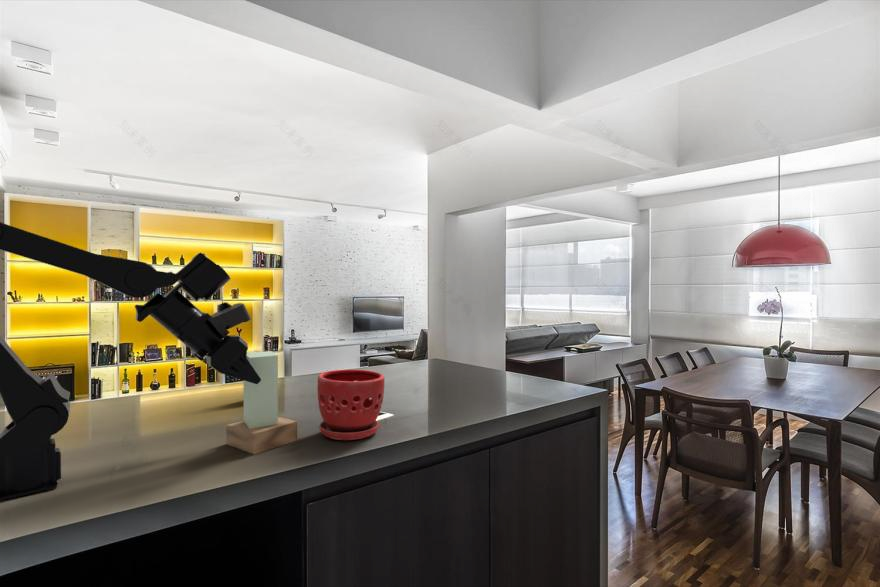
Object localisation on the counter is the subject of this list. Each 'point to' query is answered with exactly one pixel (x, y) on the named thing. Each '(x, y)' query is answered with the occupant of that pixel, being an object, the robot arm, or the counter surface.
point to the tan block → (261, 435)
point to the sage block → (262, 391)
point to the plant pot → (350, 403)
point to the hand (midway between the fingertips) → (251, 378)
